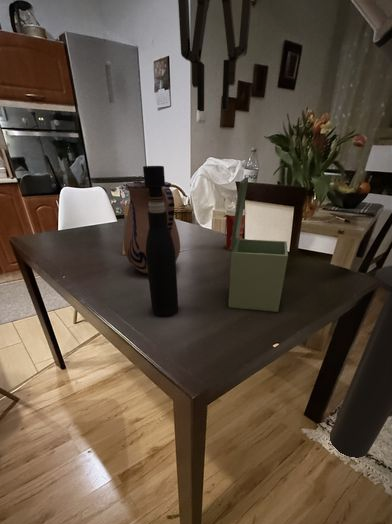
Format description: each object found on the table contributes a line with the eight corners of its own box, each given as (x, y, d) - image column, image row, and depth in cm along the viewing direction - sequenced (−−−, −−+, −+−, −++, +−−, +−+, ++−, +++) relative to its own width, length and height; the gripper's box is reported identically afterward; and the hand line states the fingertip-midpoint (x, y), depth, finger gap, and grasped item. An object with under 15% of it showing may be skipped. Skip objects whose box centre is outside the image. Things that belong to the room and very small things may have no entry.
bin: (278, 292, 78) (286, 241, 70) (278, 312, 68) (288, 255, 61) (233, 288, 80) (237, 239, 72) (228, 307, 71) (231, 252, 63)
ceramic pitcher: (157, 257, 103) (150, 178, 89) (200, 271, 91) (199, 182, 77) (117, 270, 93) (101, 183, 78) (159, 287, 81) (149, 188, 67)
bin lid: (248, 177, 64) (245, 177, 64) (243, 182, 55) (239, 182, 55) (239, 237, 72) (236, 236, 72) (233, 250, 63) (229, 250, 63)
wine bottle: (167, 319, 66) (155, 167, 49) (146, 312, 69) (128, 166, 51) (183, 308, 70) (177, 165, 53) (163, 302, 73) (151, 165, 56)
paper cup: (234, 252, 107) (237, 212, 99) (219, 248, 112) (221, 209, 104) (247, 248, 112) (251, 209, 104) (232, 244, 116) (235, 207, 108)
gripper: (277, -95, 42) (259, 110, 55) (168, -76, 45) (175, 113, 59) (277, -135, 36) (256, 106, 50) (151, -110, 39) (164, 109, 53)
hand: (212, 109), depth 54 cm, fingers open, 4 cm apart
